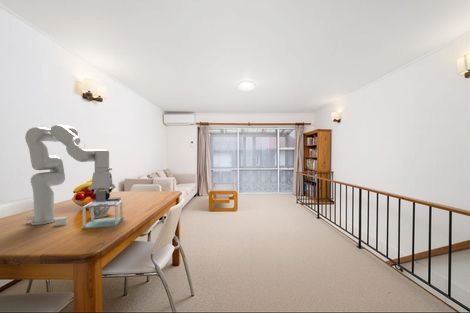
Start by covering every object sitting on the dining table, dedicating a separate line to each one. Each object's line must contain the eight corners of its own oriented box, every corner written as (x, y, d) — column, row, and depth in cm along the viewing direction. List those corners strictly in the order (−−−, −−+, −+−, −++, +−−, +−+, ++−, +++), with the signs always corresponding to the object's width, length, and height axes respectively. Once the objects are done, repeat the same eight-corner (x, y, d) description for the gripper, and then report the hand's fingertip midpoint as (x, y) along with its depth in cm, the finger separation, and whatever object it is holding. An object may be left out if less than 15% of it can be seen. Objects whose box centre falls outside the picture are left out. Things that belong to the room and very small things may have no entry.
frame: (81, 228, 118) (81, 207, 118) (92, 220, 132) (92, 201, 132) (116, 225, 123) (116, 205, 122) (123, 218, 137) (123, 199, 137)
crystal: (113, 214, 145) (113, 193, 145) (91, 219, 135) (91, 196, 134) (108, 212, 151) (108, 192, 151) (87, 216, 141) (86, 195, 141)
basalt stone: (99, 199, 127) (99, 190, 127) (108, 199, 128) (108, 189, 128) (95, 201, 122) (95, 191, 122) (105, 201, 124) (105, 191, 123)
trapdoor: (86, 211, 120) (86, 204, 120) (97, 204, 136) (97, 198, 136) (114, 209, 124) (114, 202, 124) (122, 202, 140) (122, 197, 140)
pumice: (55, 226, 123) (55, 219, 123) (57, 224, 126) (56, 217, 126) (66, 224, 126) (65, 218, 125) (67, 222, 129) (67, 216, 129)
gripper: (119, 169, 131) (119, 197, 131) (88, 169, 126) (88, 198, 127) (115, 170, 124) (115, 200, 124) (83, 170, 119) (83, 201, 120)
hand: (102, 199), depth 125 cm, fingers closed on basalt stone, 5 cm apart
